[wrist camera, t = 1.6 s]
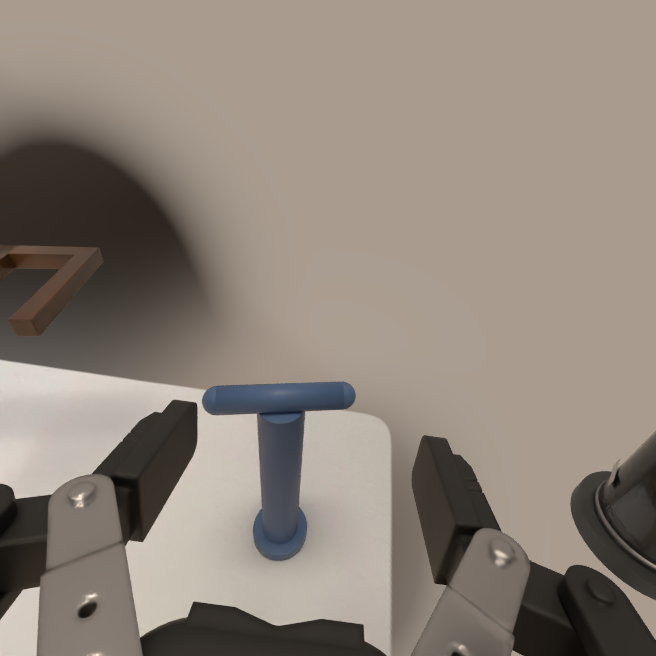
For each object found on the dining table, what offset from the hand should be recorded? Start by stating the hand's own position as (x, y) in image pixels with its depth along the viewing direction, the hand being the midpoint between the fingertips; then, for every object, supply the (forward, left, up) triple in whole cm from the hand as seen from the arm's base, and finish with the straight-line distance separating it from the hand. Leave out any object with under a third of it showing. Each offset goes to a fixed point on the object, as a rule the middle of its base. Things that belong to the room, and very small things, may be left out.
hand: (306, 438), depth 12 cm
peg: (+1, -6, -21) cm, 22 cm away
